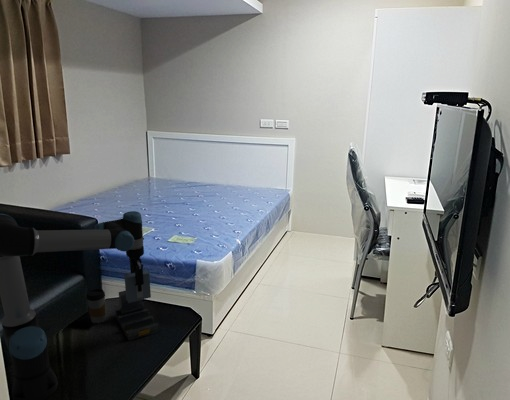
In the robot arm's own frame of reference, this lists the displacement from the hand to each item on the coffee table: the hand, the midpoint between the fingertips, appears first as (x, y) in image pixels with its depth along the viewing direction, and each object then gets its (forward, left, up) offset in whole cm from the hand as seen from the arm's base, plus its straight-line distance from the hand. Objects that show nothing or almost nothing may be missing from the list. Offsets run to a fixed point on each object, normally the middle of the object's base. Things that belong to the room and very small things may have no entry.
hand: (138, 294), depth 188 cm
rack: (0, +7, -19) cm, 20 cm away
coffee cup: (-15, +19, -19) cm, 31 cm away
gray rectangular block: (0, 0, -2) cm, 2 cm away
